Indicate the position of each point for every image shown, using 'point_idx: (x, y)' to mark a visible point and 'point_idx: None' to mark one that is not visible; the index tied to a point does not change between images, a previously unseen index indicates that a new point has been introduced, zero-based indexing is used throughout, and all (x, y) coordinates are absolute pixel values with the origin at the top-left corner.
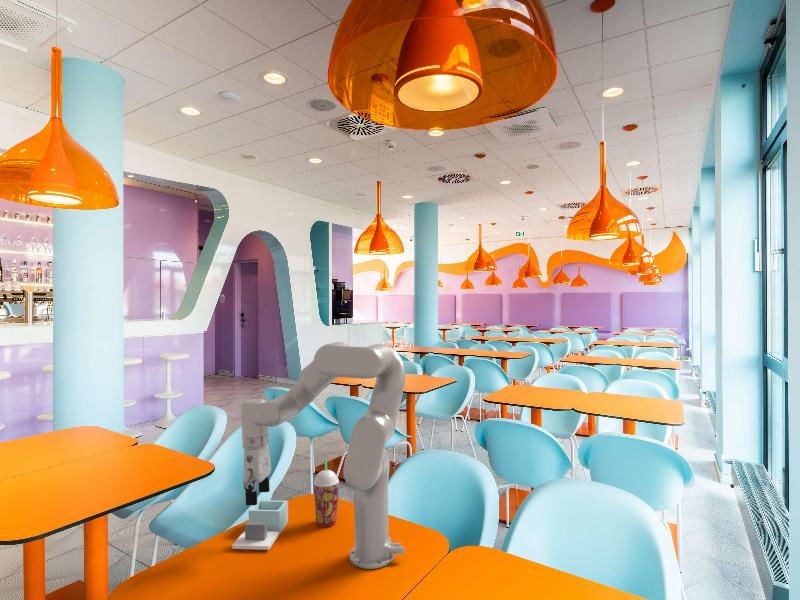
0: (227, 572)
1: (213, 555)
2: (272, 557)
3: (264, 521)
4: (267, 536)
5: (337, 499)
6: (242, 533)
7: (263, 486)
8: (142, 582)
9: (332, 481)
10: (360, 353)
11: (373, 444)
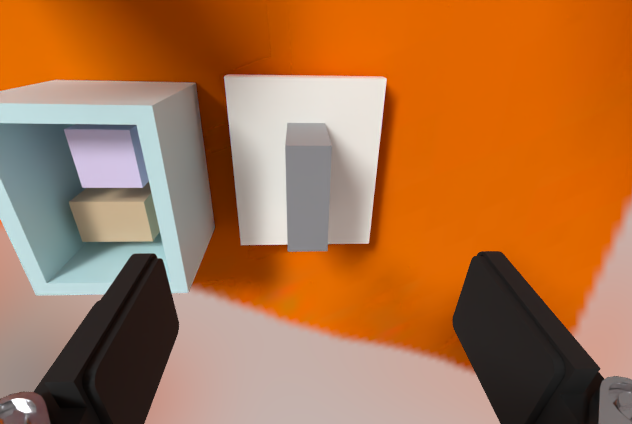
0: (518, 185)
1: (392, 275)
2: (431, 36)
3: (191, 183)
4: (284, 123)
5: None
6: (267, 243)
7: (148, 342)
8: None
9: None
10: None
11: None
